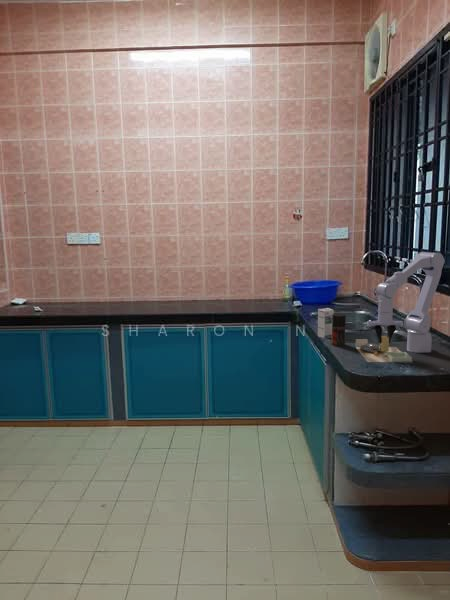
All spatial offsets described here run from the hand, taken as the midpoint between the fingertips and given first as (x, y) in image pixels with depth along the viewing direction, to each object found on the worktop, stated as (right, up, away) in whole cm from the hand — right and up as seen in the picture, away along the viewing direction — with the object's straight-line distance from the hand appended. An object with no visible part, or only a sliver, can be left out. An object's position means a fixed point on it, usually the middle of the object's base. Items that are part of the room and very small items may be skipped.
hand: (384, 342), depth 186 cm
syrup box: (-17, -1, +35) cm, 39 cm away
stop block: (0, -3, +1) cm, 3 cm away
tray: (+4, -6, -5) cm, 9 cm away
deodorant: (-15, -4, +18) cm, 24 cm away
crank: (-4, -4, +7) cm, 9 cm away
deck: (0, -6, +2) cm, 6 cm away
